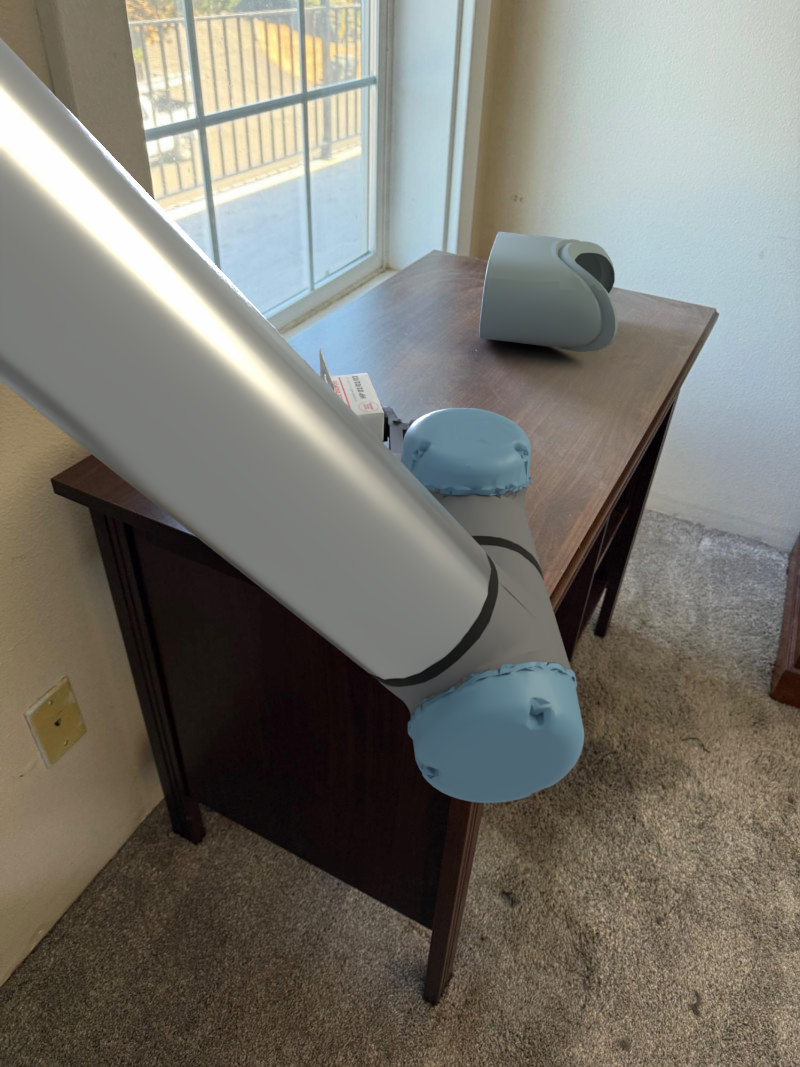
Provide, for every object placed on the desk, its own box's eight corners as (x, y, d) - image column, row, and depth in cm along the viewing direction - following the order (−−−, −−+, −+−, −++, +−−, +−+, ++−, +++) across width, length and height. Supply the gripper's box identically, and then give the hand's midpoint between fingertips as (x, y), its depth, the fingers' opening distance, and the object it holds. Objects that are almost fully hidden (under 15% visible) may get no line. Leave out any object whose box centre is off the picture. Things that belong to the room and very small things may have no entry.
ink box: (385, 515, 75) (387, 382, 65) (335, 521, 74) (330, 387, 64) (368, 469, 81) (367, 341, 72) (322, 474, 80) (316, 345, 71)
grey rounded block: (491, 301, 125) (500, 221, 117) (606, 313, 123) (624, 232, 115) (476, 355, 108) (485, 266, 100) (609, 371, 106) (629, 281, 98)
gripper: (294, 594, 59) (253, 443, 76) (506, 557, 64) (421, 423, 81) (289, 518, 54) (246, 377, 72) (518, 485, 59) (425, 359, 76)
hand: (339, 401), depth 76 cm, fingers closed on ink box, 5 cm apart
